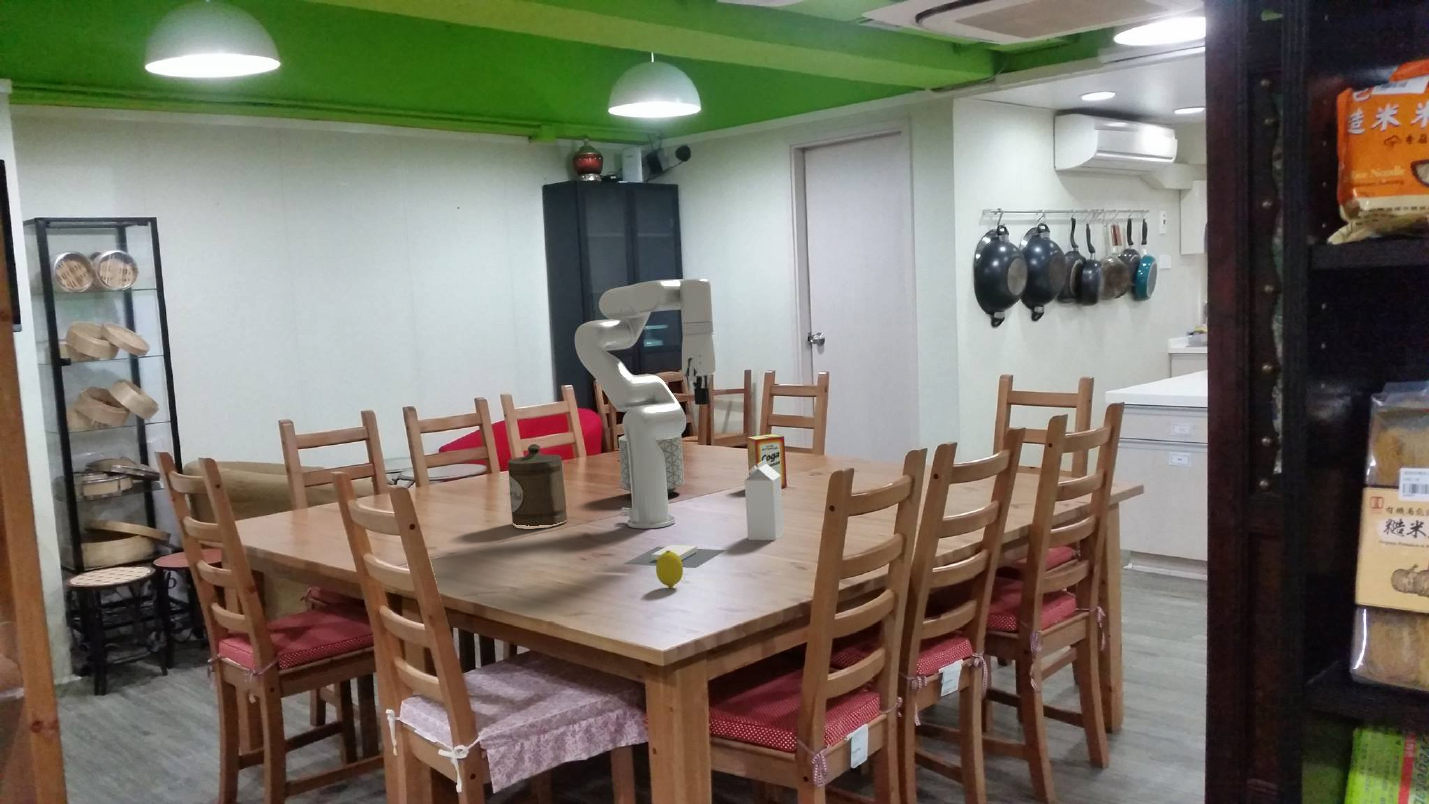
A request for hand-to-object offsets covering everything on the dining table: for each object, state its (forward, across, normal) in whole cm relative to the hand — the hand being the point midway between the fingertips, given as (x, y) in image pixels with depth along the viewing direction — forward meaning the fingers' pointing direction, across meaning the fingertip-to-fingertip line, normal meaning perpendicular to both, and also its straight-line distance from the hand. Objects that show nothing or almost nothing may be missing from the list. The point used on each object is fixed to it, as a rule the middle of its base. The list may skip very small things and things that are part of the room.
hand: (702, 404), depth 269 cm
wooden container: (+33, -5, -54) cm, 64 cm away
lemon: (+33, +45, +12) cm, 57 cm away
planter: (+33, -47, -41) cm, 71 cm away
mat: (+33, +23, +2) cm, 40 cm away
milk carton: (+33, 0, +15) cm, 37 cm away
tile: (+32, +19, +2) cm, 37 cm away
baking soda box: (+33, -63, -10) cm, 72 cm away
